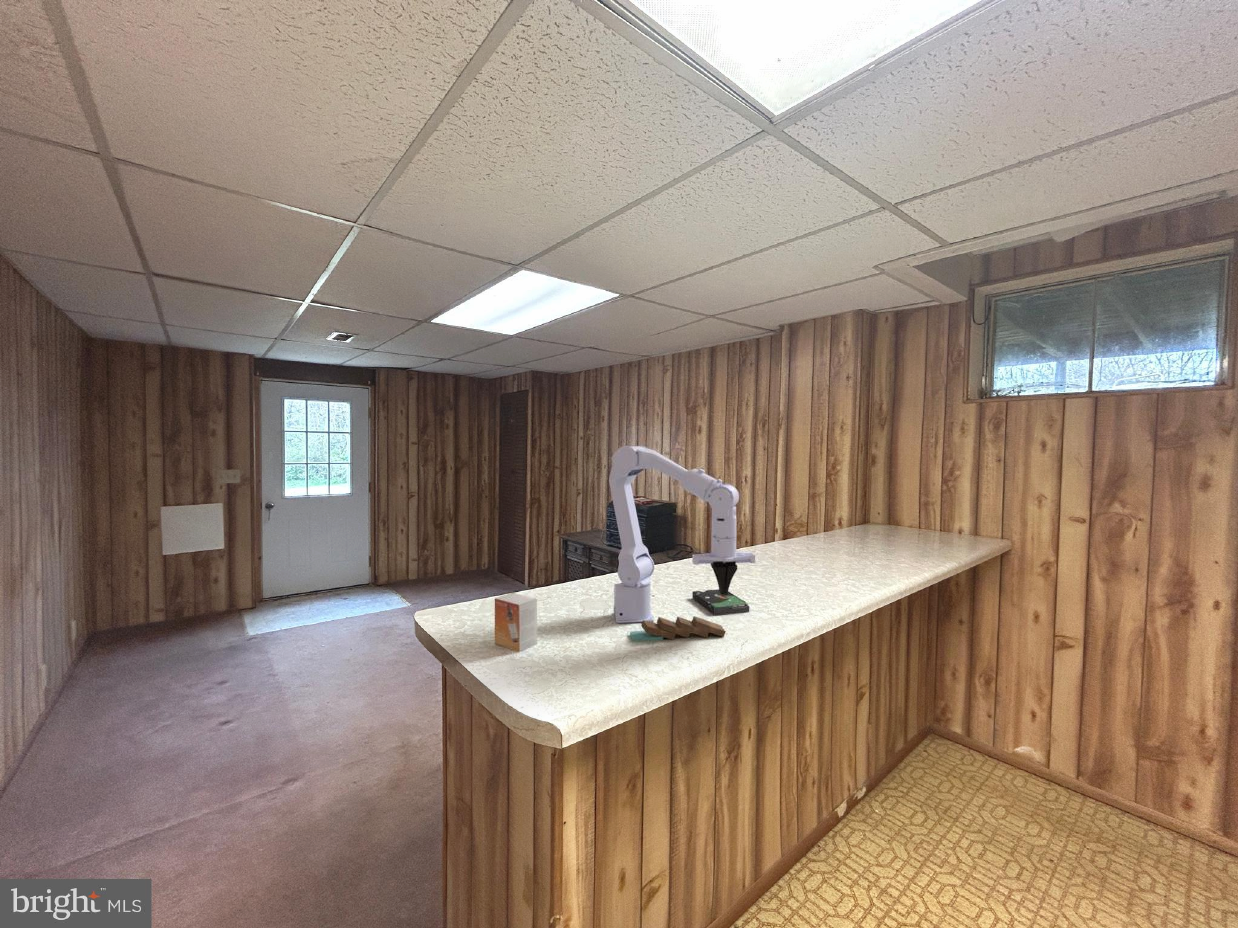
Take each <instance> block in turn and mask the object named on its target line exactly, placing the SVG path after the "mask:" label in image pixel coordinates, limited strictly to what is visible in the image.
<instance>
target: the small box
mask: <svg viewBox="0 0 1238 928" xmlns="http://www.w3.org/2000/svg"><path fill="white" fill-rule="evenodd" d="M494 644H496V645H499V646H501V645H502V646H501V647H503V648H507V649H509V650H512V651H515V652H517V653H520V652H522V651H524V650H527V649H529V648H531V647H534V646H536V645H537V644H538V598H536V597H531V596H526V595H523V594H519V593H515V592H510V593H507V594H504V595H501V596H498V597H495V598H494ZM535 644H536V645H535Z"/></svg>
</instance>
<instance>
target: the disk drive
mask: <svg viewBox="0 0 1238 928" xmlns="http://www.w3.org/2000/svg"><path fill="white" fill-rule="evenodd" d="M691 596H692V597H691V598H692V600H693V601H694V602H696V603H697V604H699V605H700V606H701V607H703V608H704V609H706V610H707V611H708V612H709V613H710V614H712V615H713V616H725V615H733V614H734V615H735V614H744V613H750V606H749V603H747V601H745V600H743V599H742V598H740V597H738V596H737V595H735V594H733V593H732V592H730V591H729V590H728V595H721V594H720V592H719V588H717V589H706V590H705V591H701V590H693V591H692V595H691Z"/></svg>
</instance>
